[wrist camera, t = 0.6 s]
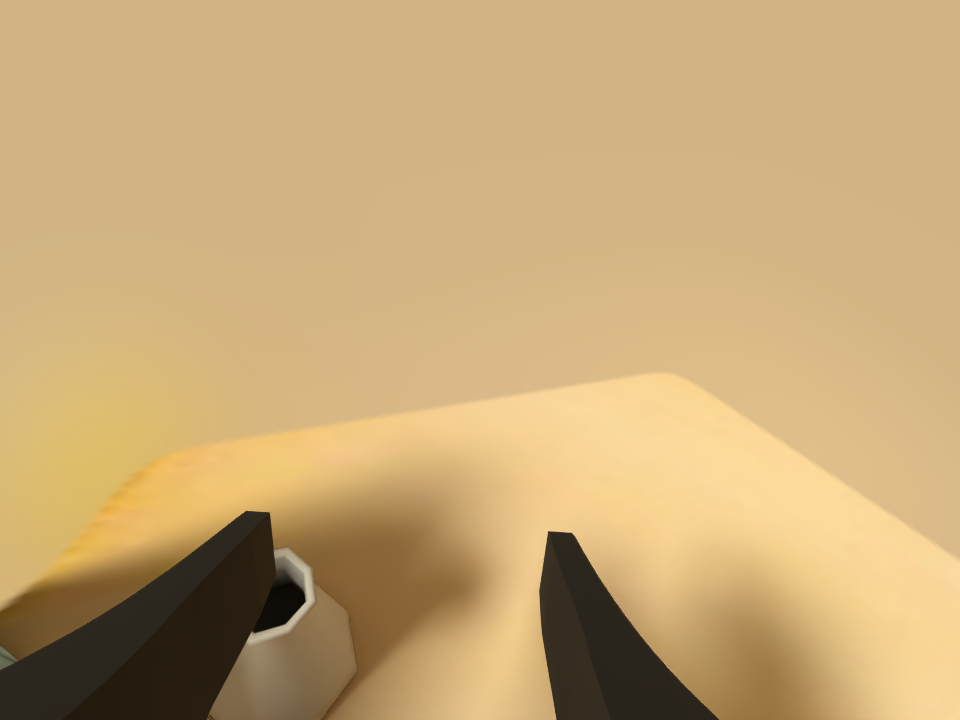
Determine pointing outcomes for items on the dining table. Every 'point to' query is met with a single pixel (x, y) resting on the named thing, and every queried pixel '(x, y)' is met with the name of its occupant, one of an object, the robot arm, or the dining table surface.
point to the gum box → (5, 658)
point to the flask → (291, 652)
